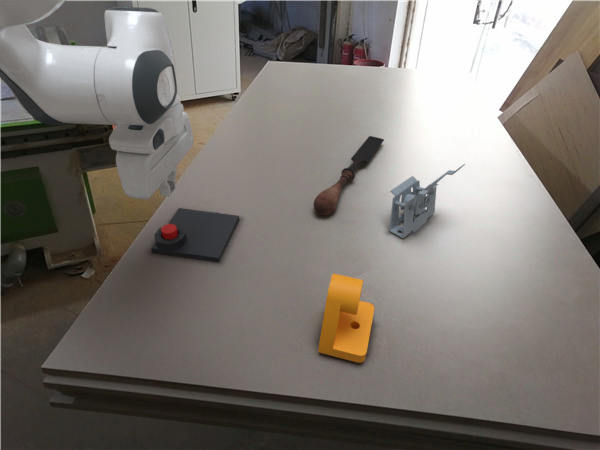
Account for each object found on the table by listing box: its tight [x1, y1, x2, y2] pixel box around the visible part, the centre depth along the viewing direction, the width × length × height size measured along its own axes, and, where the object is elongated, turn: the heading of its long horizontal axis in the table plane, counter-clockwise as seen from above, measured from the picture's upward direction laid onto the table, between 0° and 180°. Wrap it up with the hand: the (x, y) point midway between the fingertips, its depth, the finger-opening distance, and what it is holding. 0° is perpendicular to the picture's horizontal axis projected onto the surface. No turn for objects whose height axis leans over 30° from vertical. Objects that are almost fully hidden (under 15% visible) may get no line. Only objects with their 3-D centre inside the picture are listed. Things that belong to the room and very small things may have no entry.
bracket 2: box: [388, 163, 466, 239], centre depth 86 cm, size 13×10×15 cm
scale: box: [150, 207, 240, 263], centre depth 85 cm, size 14×14×3 cm
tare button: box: [160, 223, 178, 240], centre depth 81 cm, size 3×3×2 cm
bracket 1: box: [317, 272, 375, 364], centre depth 63 cm, size 11×7×12 cm, turn 164°
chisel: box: [313, 135, 385, 216], centre depth 105 cm, size 5×43×5 cm, turn 154°
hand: (168, 192), depth 73 cm, fingers closed
